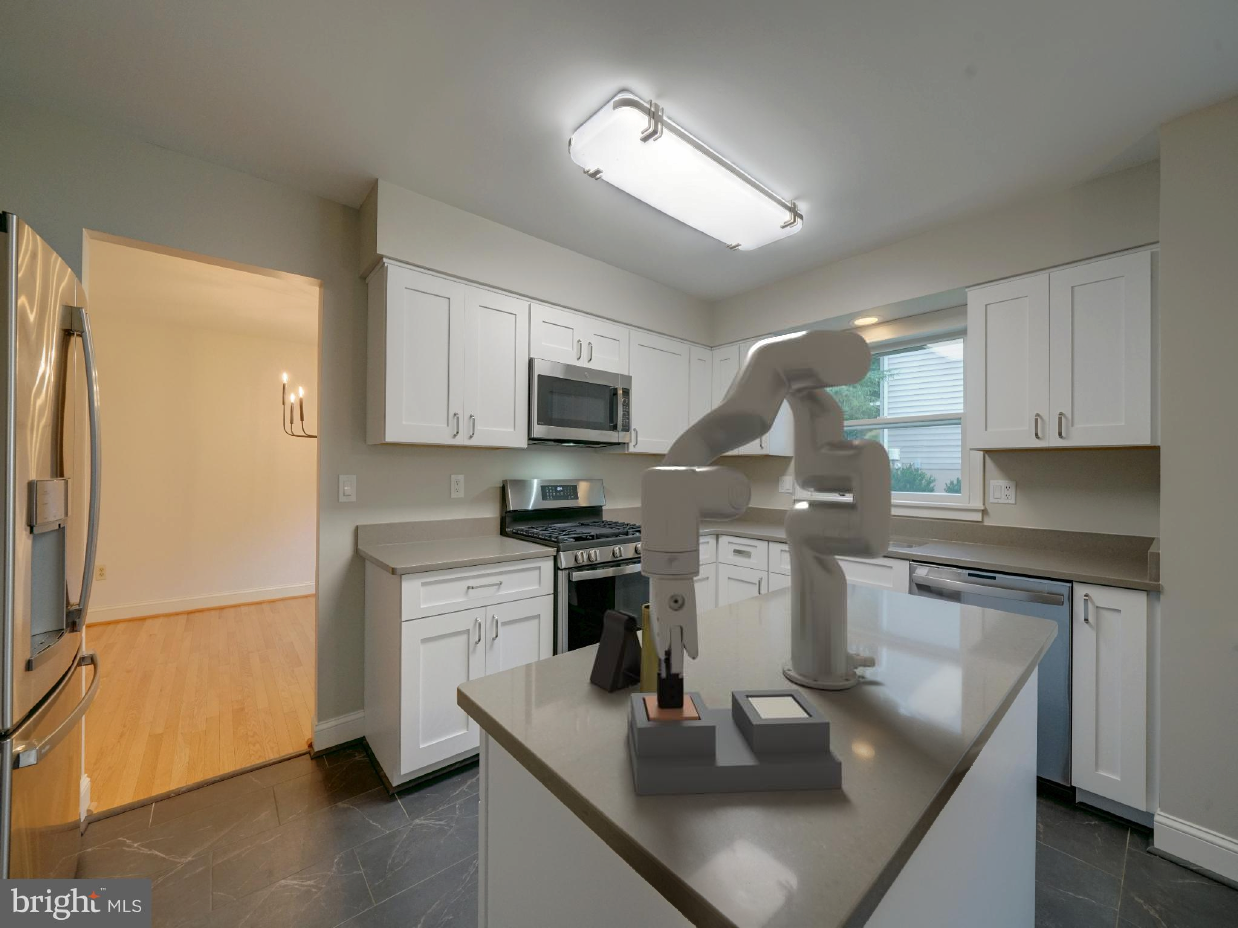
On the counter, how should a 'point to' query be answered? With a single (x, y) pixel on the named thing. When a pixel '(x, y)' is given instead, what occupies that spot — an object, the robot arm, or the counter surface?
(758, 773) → the button panel
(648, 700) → the terracotta button
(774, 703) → the ivory button
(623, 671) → the phone stand
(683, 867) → the counter surface
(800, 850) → the counter surface
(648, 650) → the vase
